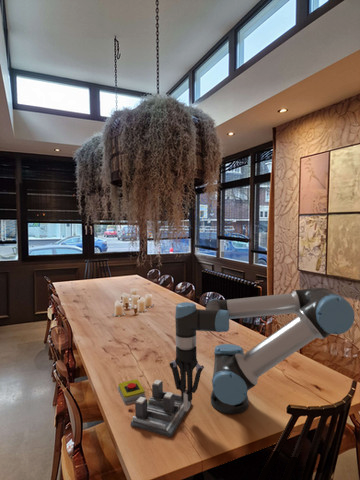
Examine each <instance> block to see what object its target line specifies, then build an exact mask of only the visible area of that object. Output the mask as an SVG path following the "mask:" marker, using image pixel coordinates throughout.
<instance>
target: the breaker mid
mask: <svg viewBox="0 0 360 480" xmlns="http://www.w3.org/2000/svg"><path fill="white" fill-rule="evenodd" d="M166 392H167V393H166V394H165V396H164V397H163V411H166V412H170V413H173V411H174V410H175V403H174V394H175V393H174V392H170V391H166Z"/></svg>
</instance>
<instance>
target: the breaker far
mask: <svg viewBox="0 0 360 480" xmlns="http://www.w3.org/2000/svg"><path fill="white" fill-rule="evenodd" d="M163 382H164V381H162V380H161V379H155V380H154V382H153V383H152V384H151V392H152V393H151V394H152V395H151V397H155V398H159V399H161V398H162V397H163V391H164V385H163Z"/></svg>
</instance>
